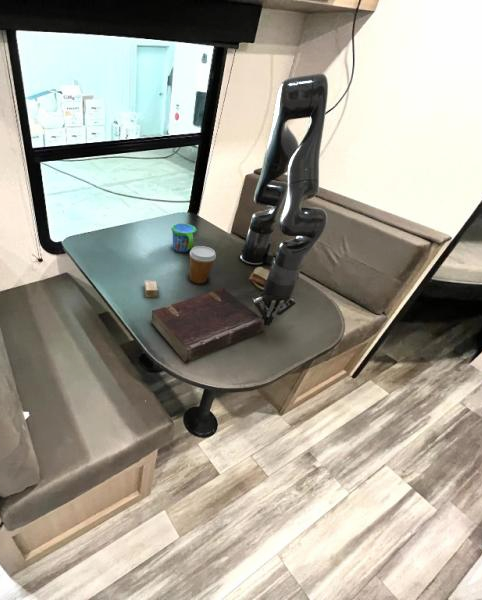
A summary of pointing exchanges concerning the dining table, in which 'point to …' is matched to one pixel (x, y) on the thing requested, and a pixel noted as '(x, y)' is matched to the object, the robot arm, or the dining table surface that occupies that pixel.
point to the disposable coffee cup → (201, 263)
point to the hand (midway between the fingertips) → (265, 323)
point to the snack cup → (183, 237)
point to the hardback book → (206, 323)
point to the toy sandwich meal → (259, 277)
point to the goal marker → (150, 289)
